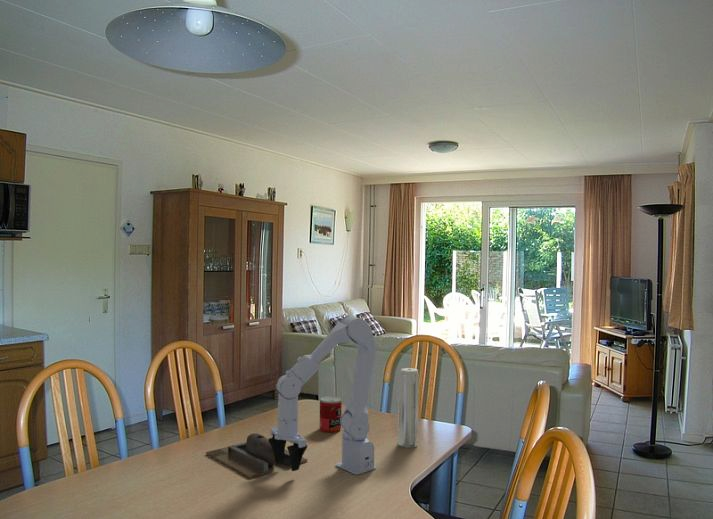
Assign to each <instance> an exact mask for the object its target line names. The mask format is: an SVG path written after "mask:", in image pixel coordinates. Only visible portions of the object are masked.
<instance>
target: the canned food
mask: <svg viewBox="0 0 713 519" xmlns="http://www.w3.org/2000/svg"><path fill="white" fill-rule="evenodd" d="M342 403H343V400H342V398H341V397H339V396H330V395H329V396H328V395H327V396H323V397H320V399H319V430H320V431H321V432H323V433H339V432H340V431H341V428H342V426H341V423H340V419H341V416H342Z"/></svg>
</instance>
